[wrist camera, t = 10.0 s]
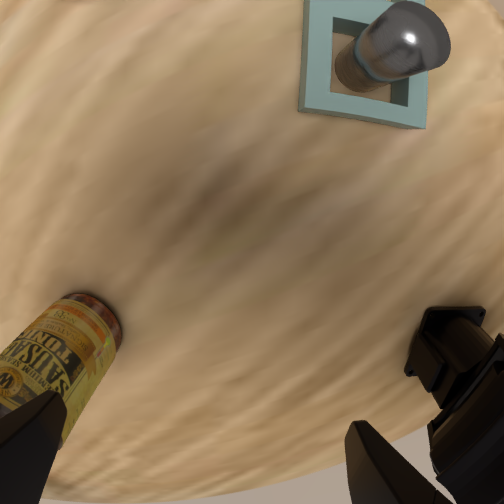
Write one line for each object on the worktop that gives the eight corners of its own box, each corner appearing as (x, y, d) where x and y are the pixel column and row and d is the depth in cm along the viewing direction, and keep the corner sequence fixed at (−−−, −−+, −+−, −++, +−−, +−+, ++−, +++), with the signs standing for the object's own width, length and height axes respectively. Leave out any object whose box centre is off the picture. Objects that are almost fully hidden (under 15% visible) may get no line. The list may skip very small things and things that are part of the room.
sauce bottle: (128, 303, 22) (-16, 562, 3) (122, 365, 24) (30, 583, 5) (53, 276, 21) (-122, 462, 2) (55, 339, 23) (-66, 516, 4)
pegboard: (403, -36, 13) (417, -50, 11) (406, 129, 17) (425, 129, 15) (305, -59, 13) (310, -78, 10) (298, 111, 17) (304, 107, 15)
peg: (381, 52, 16) (448, 14, 8) (380, 96, 17) (451, 77, 9) (335, 42, 16) (383, -9, 8) (333, 87, 17) (384, 57, 9)
